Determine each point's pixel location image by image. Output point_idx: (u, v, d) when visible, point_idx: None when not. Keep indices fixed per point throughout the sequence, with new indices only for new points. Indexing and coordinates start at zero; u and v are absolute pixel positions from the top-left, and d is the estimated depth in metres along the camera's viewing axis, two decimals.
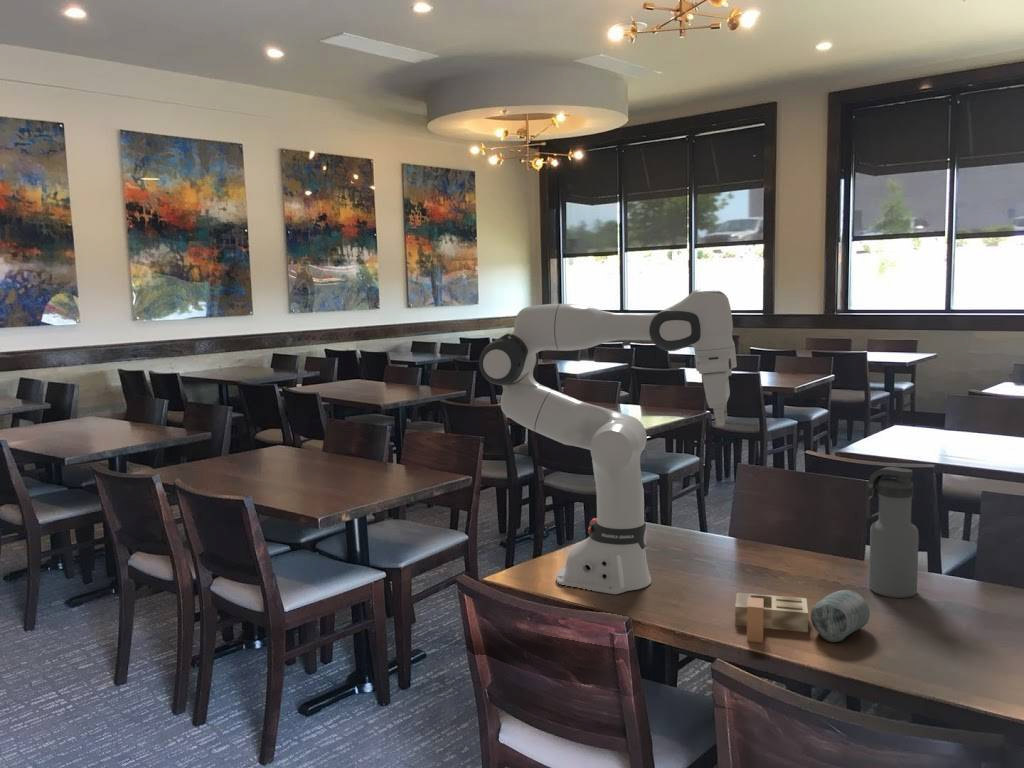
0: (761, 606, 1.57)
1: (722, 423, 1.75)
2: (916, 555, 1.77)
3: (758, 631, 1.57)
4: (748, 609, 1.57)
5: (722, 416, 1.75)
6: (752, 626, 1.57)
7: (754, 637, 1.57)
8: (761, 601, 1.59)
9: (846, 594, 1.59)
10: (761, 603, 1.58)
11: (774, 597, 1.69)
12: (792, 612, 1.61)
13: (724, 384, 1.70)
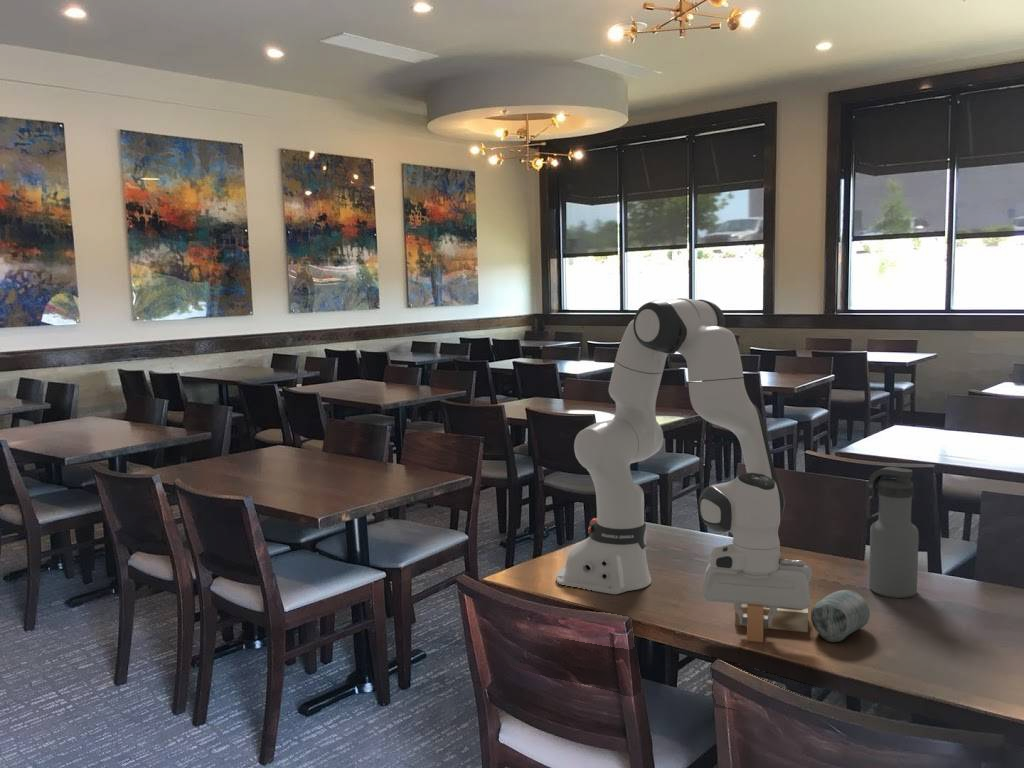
0: (761, 606, 1.57)
1: None
2: (916, 555, 1.77)
3: (758, 631, 1.57)
4: (748, 609, 1.57)
5: None
6: (752, 626, 1.57)
7: (754, 637, 1.57)
8: None
9: (846, 594, 1.59)
10: None
11: None
12: (792, 612, 1.61)
13: None
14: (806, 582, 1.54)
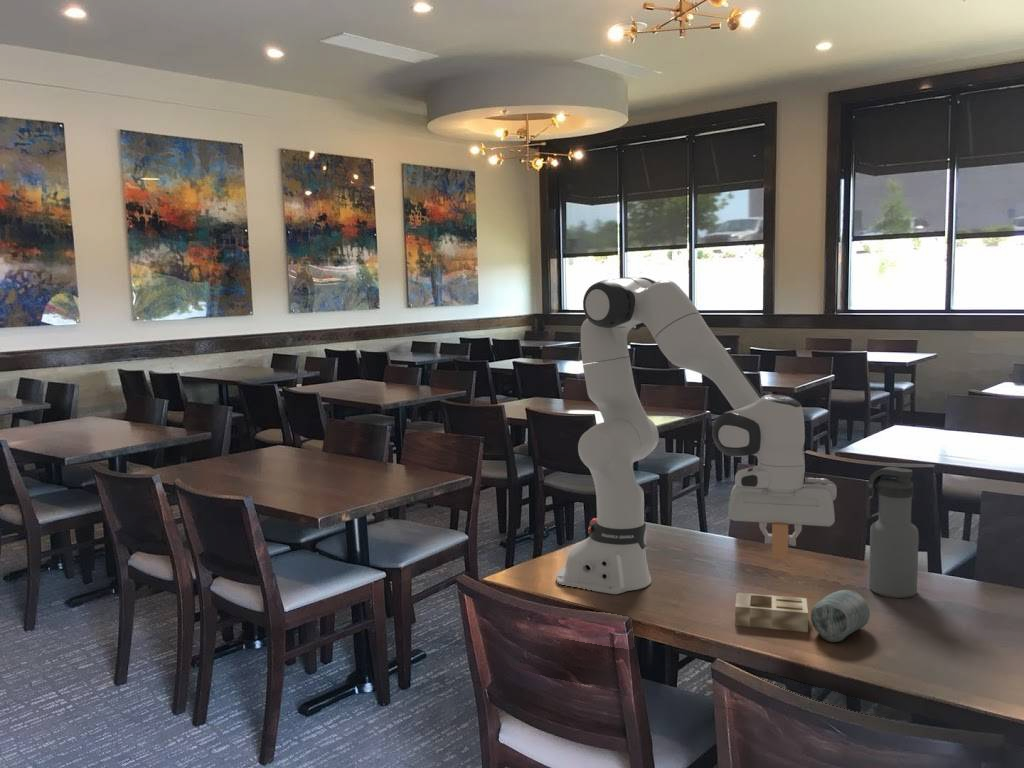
0: (786, 524, 1.59)
1: None
2: (916, 555, 1.77)
3: (783, 549, 1.59)
4: (773, 527, 1.60)
5: None
6: (777, 543, 1.60)
7: (779, 555, 1.60)
8: None
9: (846, 594, 1.59)
10: None
11: (774, 597, 1.69)
12: (792, 612, 1.61)
13: (730, 497, 1.62)
14: (831, 499, 1.56)
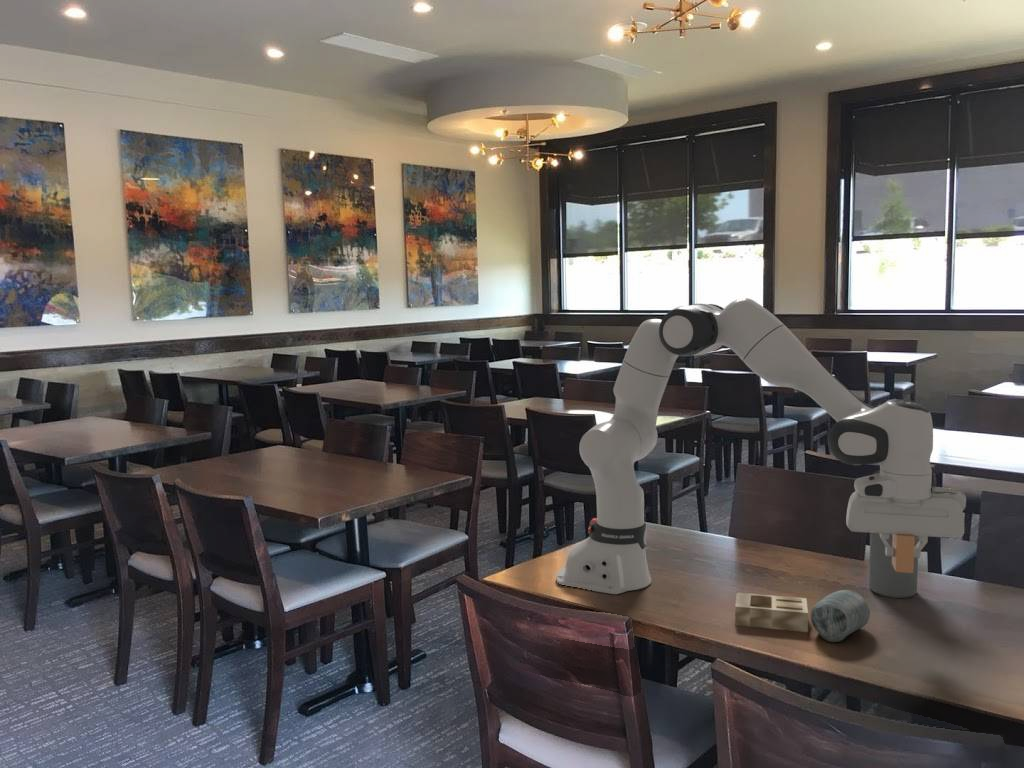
0: (911, 535, 1.51)
1: (886, 552, 1.54)
2: None
3: (908, 561, 1.52)
4: (898, 538, 1.52)
5: None
6: (901, 556, 1.52)
7: (904, 568, 1.52)
8: None
9: (846, 594, 1.59)
10: None
11: (774, 597, 1.69)
12: (792, 612, 1.61)
13: (851, 507, 1.54)
14: (961, 510, 1.49)
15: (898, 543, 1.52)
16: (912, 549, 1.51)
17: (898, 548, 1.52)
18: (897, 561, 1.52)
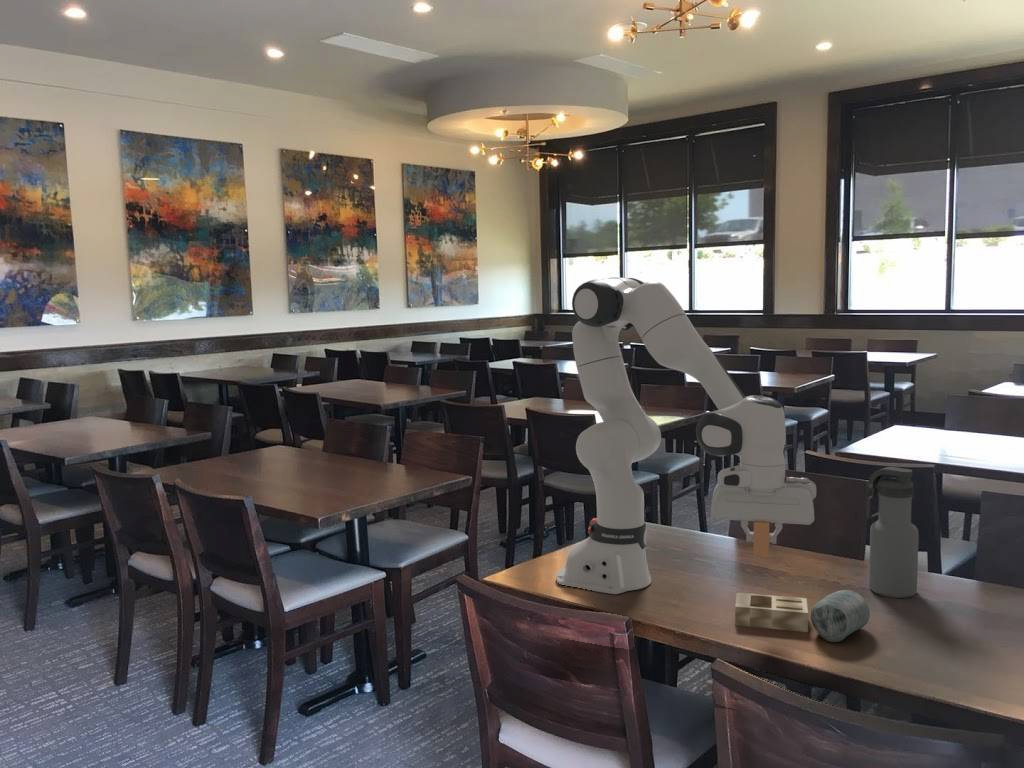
0: (767, 522, 1.63)
1: (746, 538, 1.66)
2: (916, 555, 1.77)
3: (764, 546, 1.63)
4: (754, 525, 1.63)
5: None
6: (758, 541, 1.63)
7: (760, 552, 1.63)
8: None
9: (846, 594, 1.59)
10: None
11: (774, 597, 1.69)
12: (792, 612, 1.61)
13: (713, 496, 1.65)
14: (810, 498, 1.60)
15: (755, 529, 1.63)
16: (767, 535, 1.62)
17: (755, 534, 1.63)
18: (754, 546, 1.63)
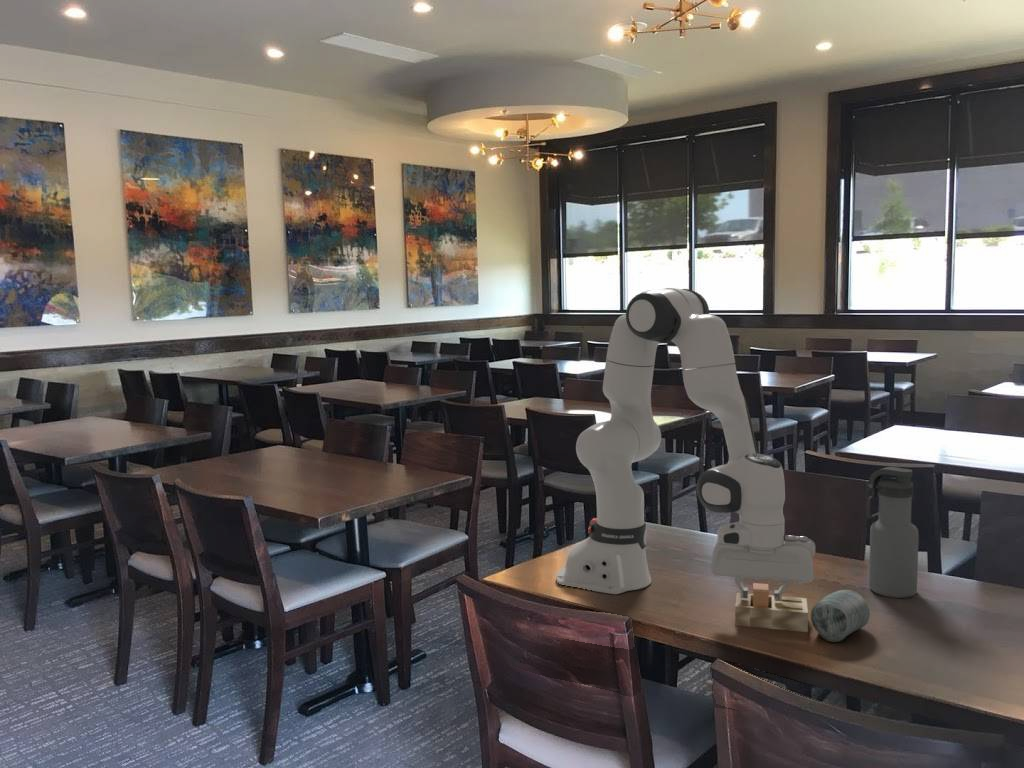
0: (766, 591, 1.64)
1: (740, 594, 1.68)
2: (916, 555, 1.77)
3: None
4: (754, 594, 1.65)
5: None
6: None
7: None
8: (766, 586, 1.67)
9: (846, 594, 1.59)
10: (766, 588, 1.66)
11: None
12: (792, 612, 1.61)
13: None
14: (809, 557, 1.61)
15: (754, 598, 1.65)
16: (767, 604, 1.64)
17: (754, 603, 1.65)
18: None
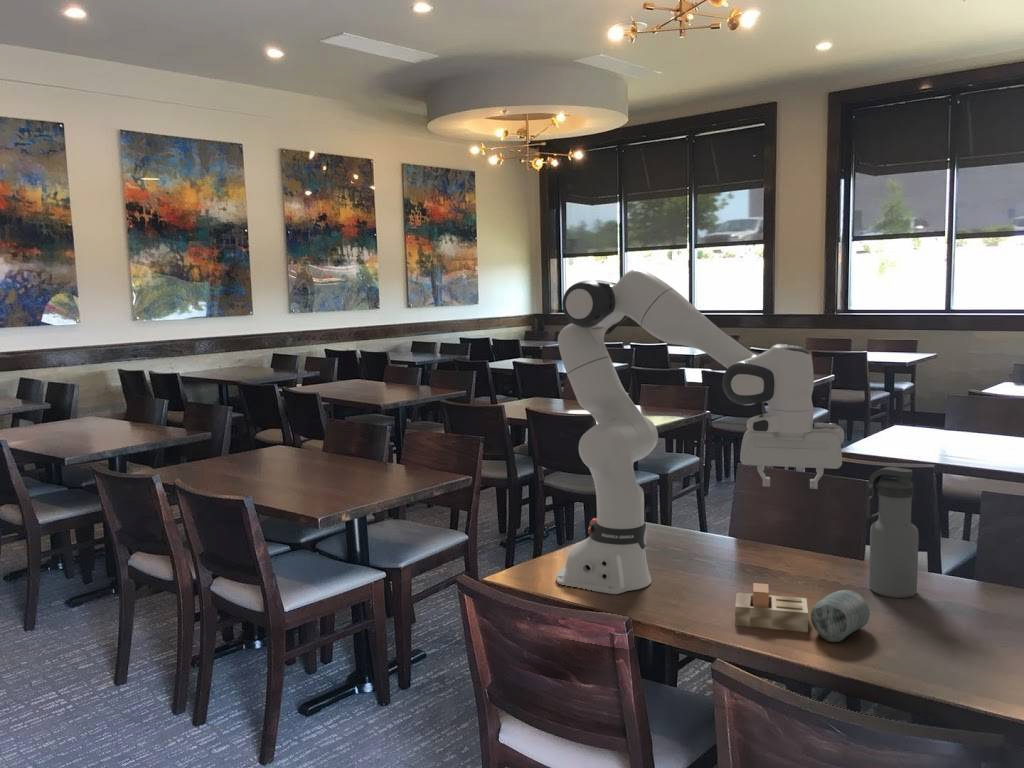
0: (766, 591, 1.64)
1: None
2: (916, 555, 1.77)
3: None
4: (754, 594, 1.65)
5: None
6: None
7: None
8: (766, 586, 1.67)
9: (846, 594, 1.59)
10: (766, 588, 1.66)
11: (774, 597, 1.69)
12: (792, 612, 1.61)
13: (742, 442, 1.70)
14: (838, 442, 1.64)
15: (754, 598, 1.65)
16: (767, 604, 1.64)
17: (754, 603, 1.65)
18: None
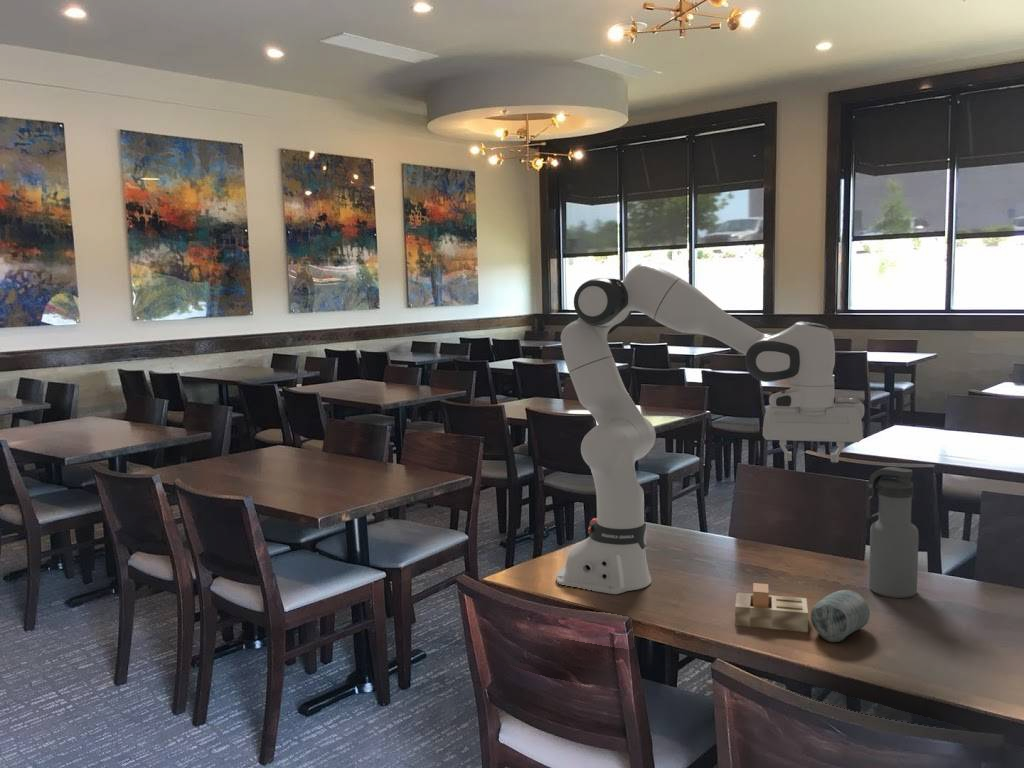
0: (766, 591, 1.64)
1: None
2: (916, 555, 1.77)
3: None
4: (754, 594, 1.65)
5: (783, 450, 1.75)
6: None
7: None
8: (766, 586, 1.67)
9: (846, 594, 1.59)
10: (766, 588, 1.66)
11: (774, 597, 1.69)
12: (792, 612, 1.61)
13: (765, 417, 1.74)
14: (859, 416, 1.69)
15: (754, 598, 1.65)
16: (767, 604, 1.64)
17: (754, 603, 1.65)
18: None
